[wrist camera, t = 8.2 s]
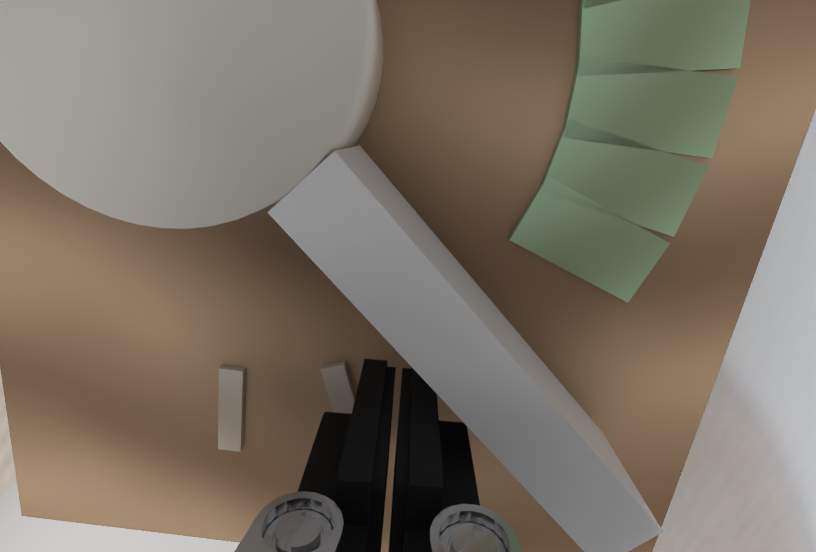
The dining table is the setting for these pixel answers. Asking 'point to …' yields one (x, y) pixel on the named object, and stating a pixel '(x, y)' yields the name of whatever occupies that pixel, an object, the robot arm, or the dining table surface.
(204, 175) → the peg dial
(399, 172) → the tuner board
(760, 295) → the dining table surface
